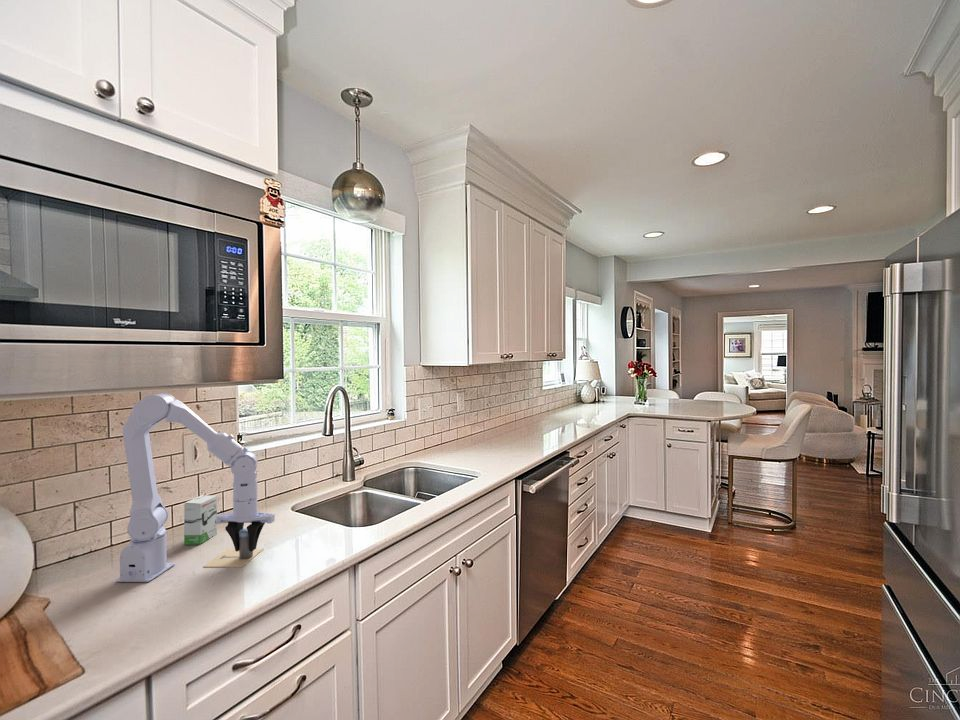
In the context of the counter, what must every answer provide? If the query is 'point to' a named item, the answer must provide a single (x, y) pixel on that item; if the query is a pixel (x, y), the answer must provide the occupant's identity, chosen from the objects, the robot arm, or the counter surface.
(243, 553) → the marker
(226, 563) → the tan square board
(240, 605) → the counter surface
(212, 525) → the ink box
